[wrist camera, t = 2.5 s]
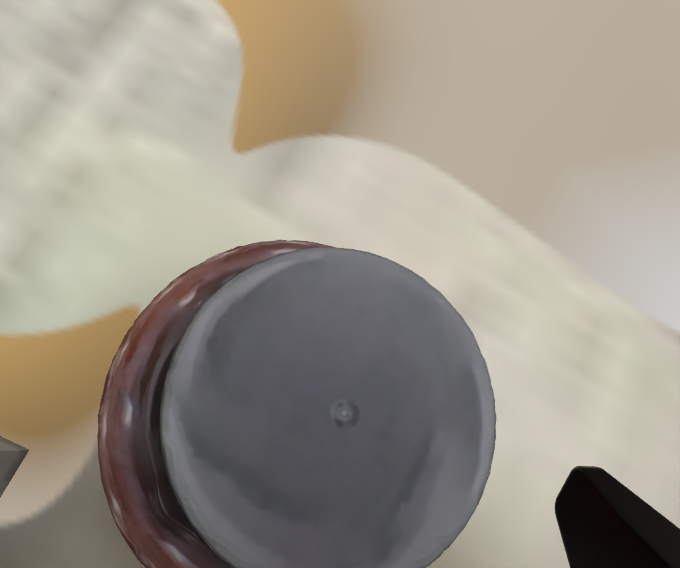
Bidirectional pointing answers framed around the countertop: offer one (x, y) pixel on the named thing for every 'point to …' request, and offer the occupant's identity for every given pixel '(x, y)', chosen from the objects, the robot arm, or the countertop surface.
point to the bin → (9, 461)
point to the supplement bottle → (296, 415)
